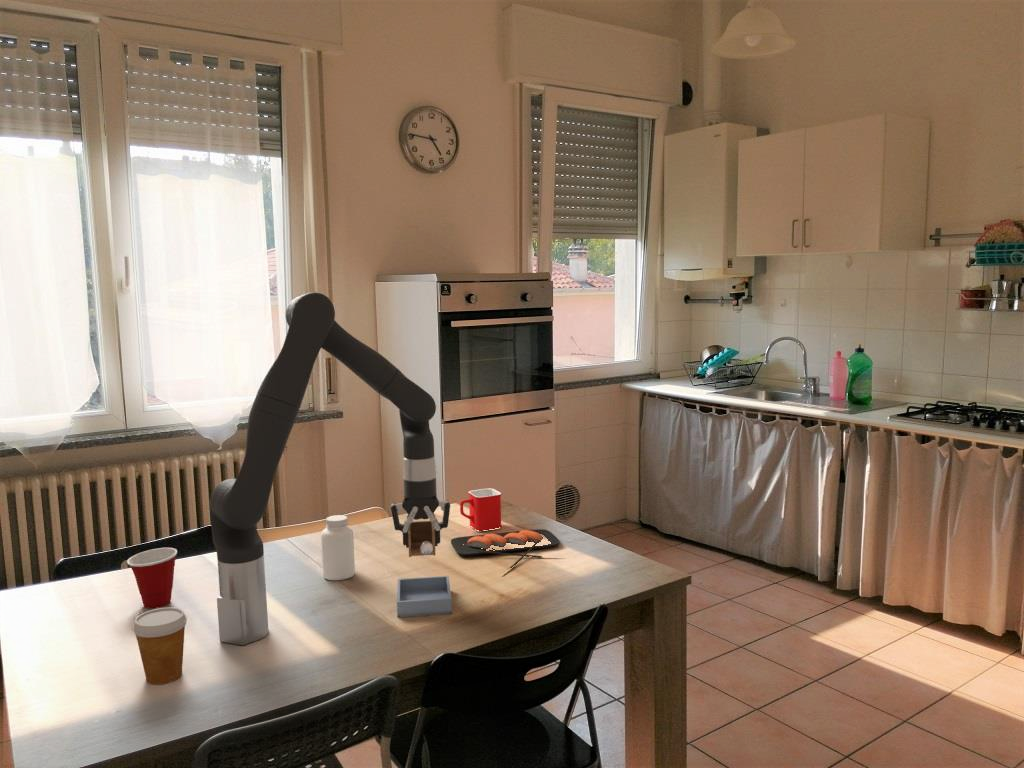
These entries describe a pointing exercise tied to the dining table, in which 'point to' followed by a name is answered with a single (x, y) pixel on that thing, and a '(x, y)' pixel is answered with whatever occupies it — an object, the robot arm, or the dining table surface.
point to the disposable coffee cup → (161, 643)
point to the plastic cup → (154, 575)
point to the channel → (420, 537)
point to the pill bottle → (337, 549)
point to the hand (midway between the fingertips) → (421, 545)
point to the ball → (426, 547)
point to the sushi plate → (502, 542)
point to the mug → (483, 509)
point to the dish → (424, 596)
